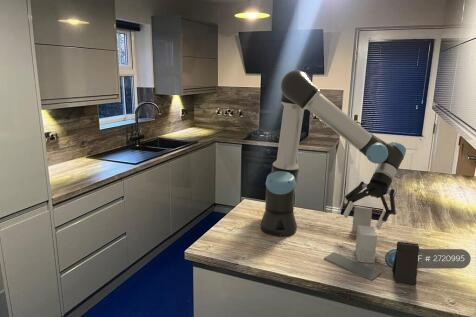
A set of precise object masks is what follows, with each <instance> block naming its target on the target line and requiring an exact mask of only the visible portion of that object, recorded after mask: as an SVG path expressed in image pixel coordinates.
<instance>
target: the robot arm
mask: <svg viewBox="0 0 476 317" xmlns="http://www.w3.org/2000/svg"><path fill="white" fill-rule="evenodd" d="M280 89H281V90H280V91H281V98H280V104H282V105H283V111H282V118H281V126H280V133H279V141H278V148H277V154H276V160H275V161H274V162H273V163H272V166H271V172H270V173H269V174H268V175H267V176H266V181H265V186H266V187H265V210H264V213H263V216H262V219H261V220H260V230H261V231H262V232H263V233H265V234H267V235H270V236H272V237H273V236H274V237H288V236H292V235H294V234H296V232H297V228H298V224H297V222H296V216H295V213H294V210H295V208H294V207H295V193H296V188H297V185H298V180H299V179H298V176H299V170H300V168H299V167H300V166H299V165H298V163H297V159H298V153H299V152H298V151H299V147H300V138H301V132H302V125H303V119H304V112H305V110H307V111H308V112H310V113H312V114H313V115H314V116H315V117H316V118H317V119H319V120H320V121H322V122H323V123H324V124H325V125H326V126H327V127H328V128H330V129H331V130H333V131H334V132H335V133H336V134H338V136H340V137H342V139H344V140H345V141H346V142H347V143H348V144H350V145H351V146H352V147H353V148H355V149H356V150H358V152H360V153H361V155H362V154H363V156H365V157H366V159H367V160H368V161H369V162H370V163H372V164H377V166H376V168H375V170H374V172H373V174H372V176H371V179H370V180H369V182H368V183H365V182H364V181H363V180H362V181H360V183H359V184H358V185H357V186H356V187H355V188H354V189H352V190H351V191H350V192H348V193H347V194H346V195H345V196H344V198H345V200H346V201H347V202H346V204H345V206H344V208H345V210H344V212H343V214H342V215H343V217H344V218H345V219H348V217H349V215H350V213H351V211H352V209H353V207H354V206H355V205H354V203H355V202H358V201H360V200H362V199H364V198H366V197H369V196H370V197H372V198H376V199H380V200H381V202H382V205H383V208H384V210H382V212H381V214H380V216H379V218H378V220H377V223H376V225H375V227H376V228H377V229H378V230H381V227H382V226H383V223H384V222H387V221H388V219H389V216H390V215H393V216H396V214H397V210H396V203H395V202H396V201H395V196H396V191H395V189H394V188H391V189H389V188H390V187H391V185H392V183H393V180H394V178H395V176H396V174H397V172H398V171H399V167H400V166H401V164H402V162H403V161H404V158H405V156H406V152H407V150H406V149H407V148H406V146H405V145H403V144H402V143H400V142H399V143H398V142H397V141H391V142H389V143H387V142H385V141H384V140H382V139H381V138H379V137H377V136H376V135H374V134H373V133H371V132H370V131H368V130H367V129H365V128H364V127H362V126H361V125H360V124H359V123H358V122H357V121H355V120H354V119H353V118H351V116H349V115H348V114H346V113H345V112H344V111H343V110H342V109H340V108H339V107H338V106H337V105H335V104H334V103H333V102H332V101H330V100H329V99H328V98H327V97H326V96H324V95H323V94H322V93H321V90H320V88H319V87H317V86H316V85H315V84H314V83H313V81H312V78H311V76H310V75H309V73H307V72H305V71H304V70H298V69H295V70H291V71H289V72H287V73H286V74H285V75H284V76H283V78H282V79H281V83H280ZM387 194H388V195H389V202H390V208H389V206H388V203H387V201H386V198H385V195H387Z"/></svg>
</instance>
